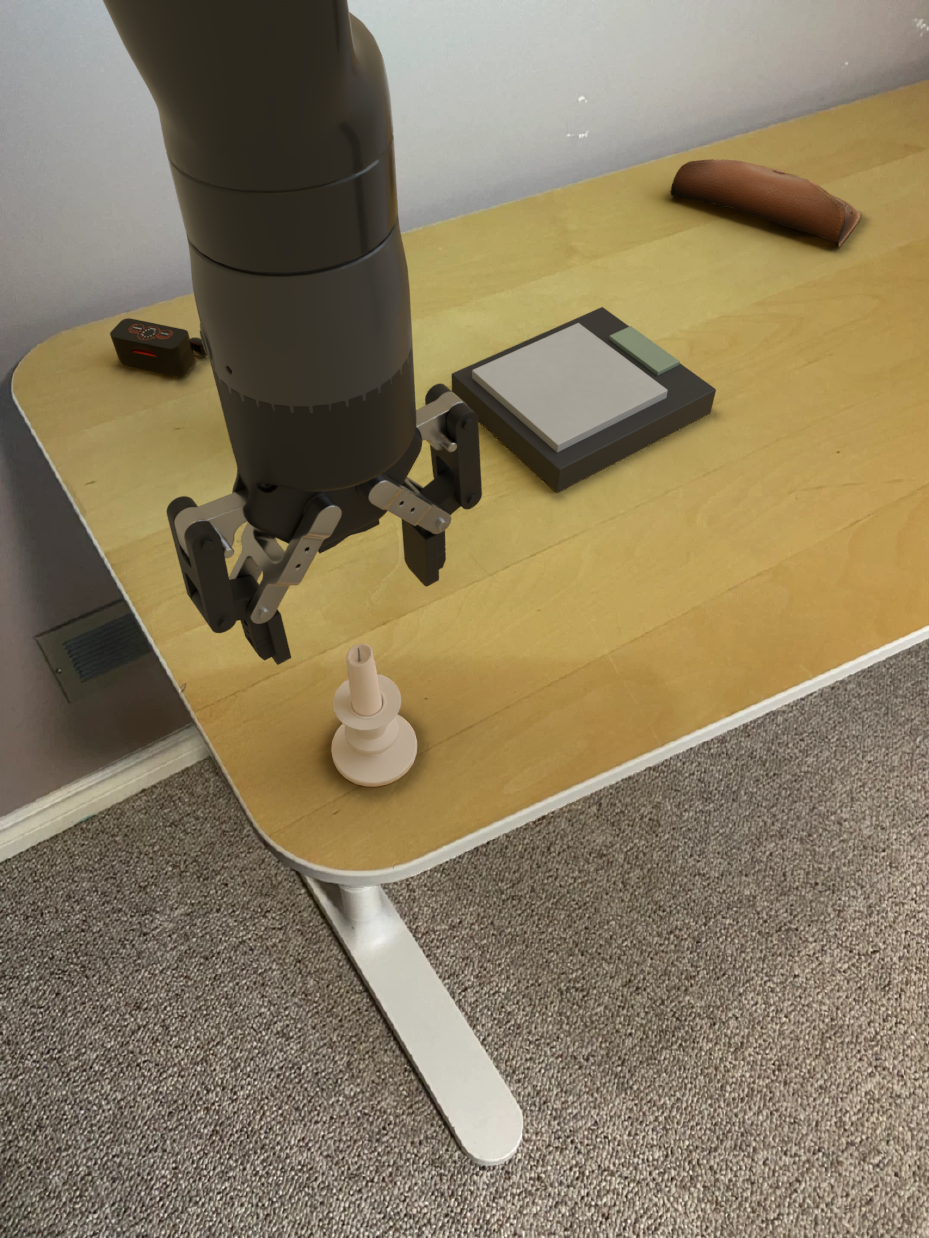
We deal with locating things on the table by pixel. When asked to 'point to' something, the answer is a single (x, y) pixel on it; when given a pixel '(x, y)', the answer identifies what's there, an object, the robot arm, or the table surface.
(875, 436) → the table surface
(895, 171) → the table surface
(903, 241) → the table surface
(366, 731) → the candle
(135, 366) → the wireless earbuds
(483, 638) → the table surface
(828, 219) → the sunglasses case
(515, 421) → the scale
